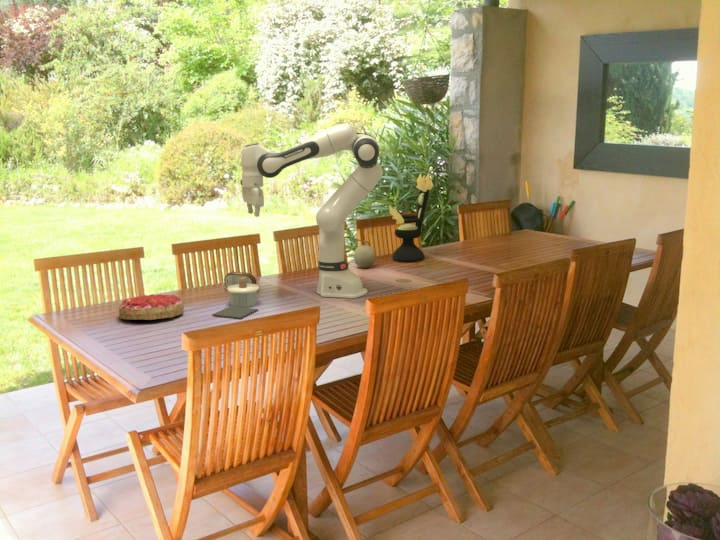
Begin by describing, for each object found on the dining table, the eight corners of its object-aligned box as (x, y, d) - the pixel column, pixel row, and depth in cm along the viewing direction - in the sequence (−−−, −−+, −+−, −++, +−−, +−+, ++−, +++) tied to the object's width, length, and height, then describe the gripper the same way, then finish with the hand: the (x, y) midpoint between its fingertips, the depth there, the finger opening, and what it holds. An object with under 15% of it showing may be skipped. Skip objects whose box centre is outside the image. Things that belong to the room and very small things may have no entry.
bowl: (262, 301, 327) (261, 288, 325) (248, 308, 317) (247, 294, 316) (239, 299, 331) (239, 285, 330) (225, 305, 321) (224, 291, 320)
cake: (150, 325, 292) (148, 304, 291) (105, 319, 305) (103, 299, 304) (196, 314, 312) (195, 294, 311) (152, 308, 326) (151, 290, 325)
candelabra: (388, 256, 415) (387, 172, 406) (429, 254, 418) (429, 170, 408) (393, 263, 397) (393, 175, 387) (436, 261, 399) (436, 174, 389)
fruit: (379, 266, 391) (379, 237, 388) (367, 270, 382) (367, 240, 379) (362, 264, 397) (361, 235, 394) (350, 268, 387) (349, 239, 384)
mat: (258, 311, 313) (258, 309, 313) (240, 319, 301) (240, 317, 301) (230, 308, 318) (230, 306, 318) (212, 316, 307) (212, 314, 306)
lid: (264, 287, 326) (264, 275, 325) (248, 294, 314) (247, 282, 313) (238, 285, 331) (237, 273, 330) (221, 292, 320) (220, 279, 319)
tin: (257, 291, 346) (256, 272, 344) (253, 292, 343) (253, 274, 341) (227, 289, 351) (226, 270, 349) (223, 290, 348) (222, 272, 346)
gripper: (267, 184, 320) (268, 217, 323) (253, 179, 338) (254, 211, 341) (252, 185, 318) (253, 218, 321) (239, 180, 336) (240, 212, 339)
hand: (253, 214), depth 331 cm, fingers open, 8 cm apart
